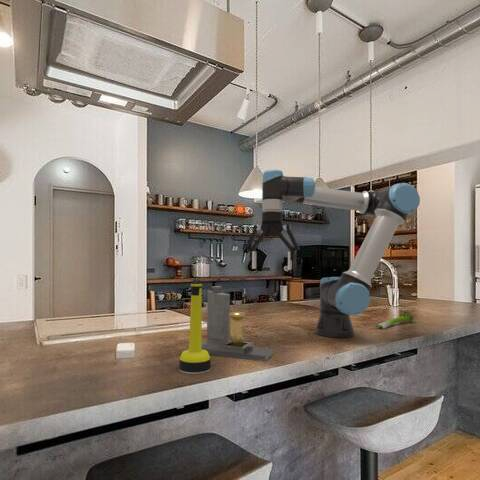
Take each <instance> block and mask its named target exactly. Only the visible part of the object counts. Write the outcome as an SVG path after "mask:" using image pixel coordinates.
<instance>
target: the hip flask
mask: <svg viewBox="0 0 480 480" xmlns="http://www.w3.org/2000/svg"><path fill="white" fill-rule="evenodd" d="M211 289H212V290H207V307H206V308H207V309H206V311H207V312H206V315H207V316H206V318H207V319H206V337H207V338H208V339H211V338H217V339H226V340H230V324H231V317H230V316H229V313H230V311H231V310H230V309H231V306H230V305H231V304H230V303H231V294H229V293H223V292H222V290H221V289H222V286H221V285H215V286H211Z"/></svg>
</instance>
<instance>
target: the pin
mask: <svg viewBox="0 0 480 480" xmlns="http://www.w3.org/2000/svg"><path fill="white" fill-rule="evenodd" d="M229 316H230V340H231V346H237V347H243V341H244V318H245V317H246V312H244V311H231V312H230V313H229Z"/></svg>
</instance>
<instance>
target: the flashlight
mask: <svg viewBox="0 0 480 480" xmlns="http://www.w3.org/2000/svg"><path fill="white" fill-rule="evenodd" d="M190 287H191V290H190V291H191V294H190V295H191V296H190V317H189V333H188V334H189V337H188V338H189V340H188V349H186V350H183V351H182V353H181V354H180V356H179V361H178V371H179V372H180V373H183V374H188V375H197V374H198V375H199V374H205V372H206V373H208V372H211V370H212V363H211V355H210V354H209V353H208V351H206V350H202V343H203V342H202V339H203V337H202V332H203V331H202V327H203V326H202V325H203V324H202V321H203V317H202V314H203V312H202V309H203V307H202V303H203V302H202V301H203V298H202V295H203V294H202V289H203V288H202V287H203V283H202V281H201V280H200V279H199V278H194V279H192V282H191V283H190Z"/></svg>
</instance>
